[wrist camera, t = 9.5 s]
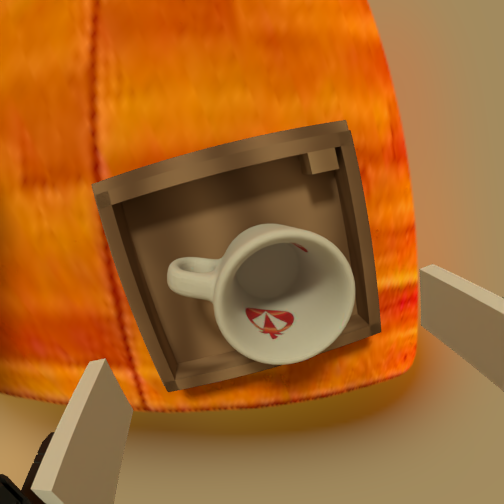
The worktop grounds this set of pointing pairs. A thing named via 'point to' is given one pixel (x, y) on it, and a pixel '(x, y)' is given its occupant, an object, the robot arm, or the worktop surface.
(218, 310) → the cup
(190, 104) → the worktop surface
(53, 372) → the worktop surface
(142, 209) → the square wooden tray
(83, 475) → the robot arm
